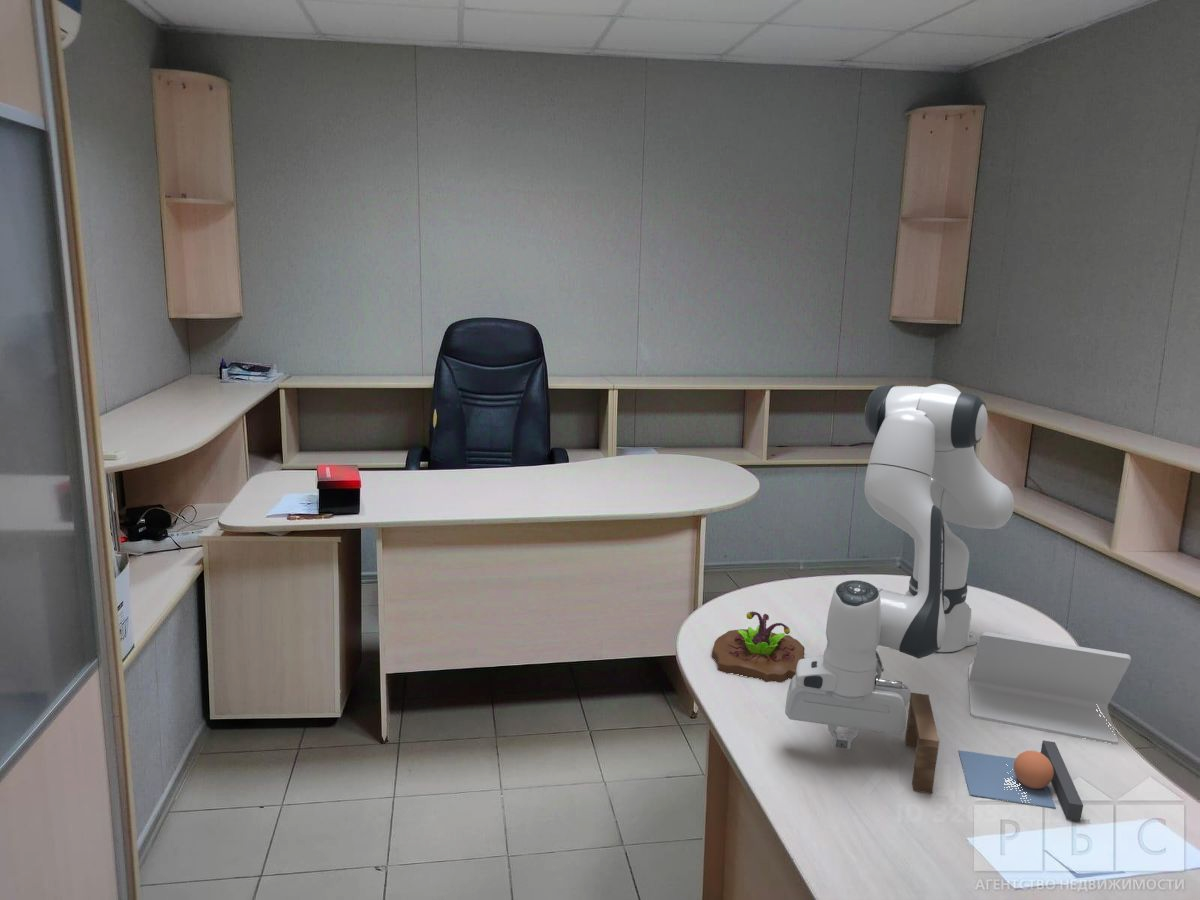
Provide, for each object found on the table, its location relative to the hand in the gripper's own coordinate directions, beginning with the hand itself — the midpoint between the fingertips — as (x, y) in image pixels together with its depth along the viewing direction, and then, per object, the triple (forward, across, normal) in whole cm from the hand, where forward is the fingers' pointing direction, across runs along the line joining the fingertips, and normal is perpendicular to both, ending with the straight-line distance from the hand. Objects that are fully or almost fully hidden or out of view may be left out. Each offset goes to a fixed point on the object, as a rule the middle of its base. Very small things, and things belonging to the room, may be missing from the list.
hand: (841, 746), depth 157 cm
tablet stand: (+2, -38, -27) cm, 46 cm away
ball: (-1, -31, +1) cm, 31 cm away
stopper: (+2, -36, 0) cm, 36 cm away
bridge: (+2, -13, 0) cm, 13 cm away
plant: (+2, +16, -32) cm, 36 cm away
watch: (+2, -4, -21) cm, 21 cm away
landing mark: (+2, -27, 0) cm, 27 cm away
